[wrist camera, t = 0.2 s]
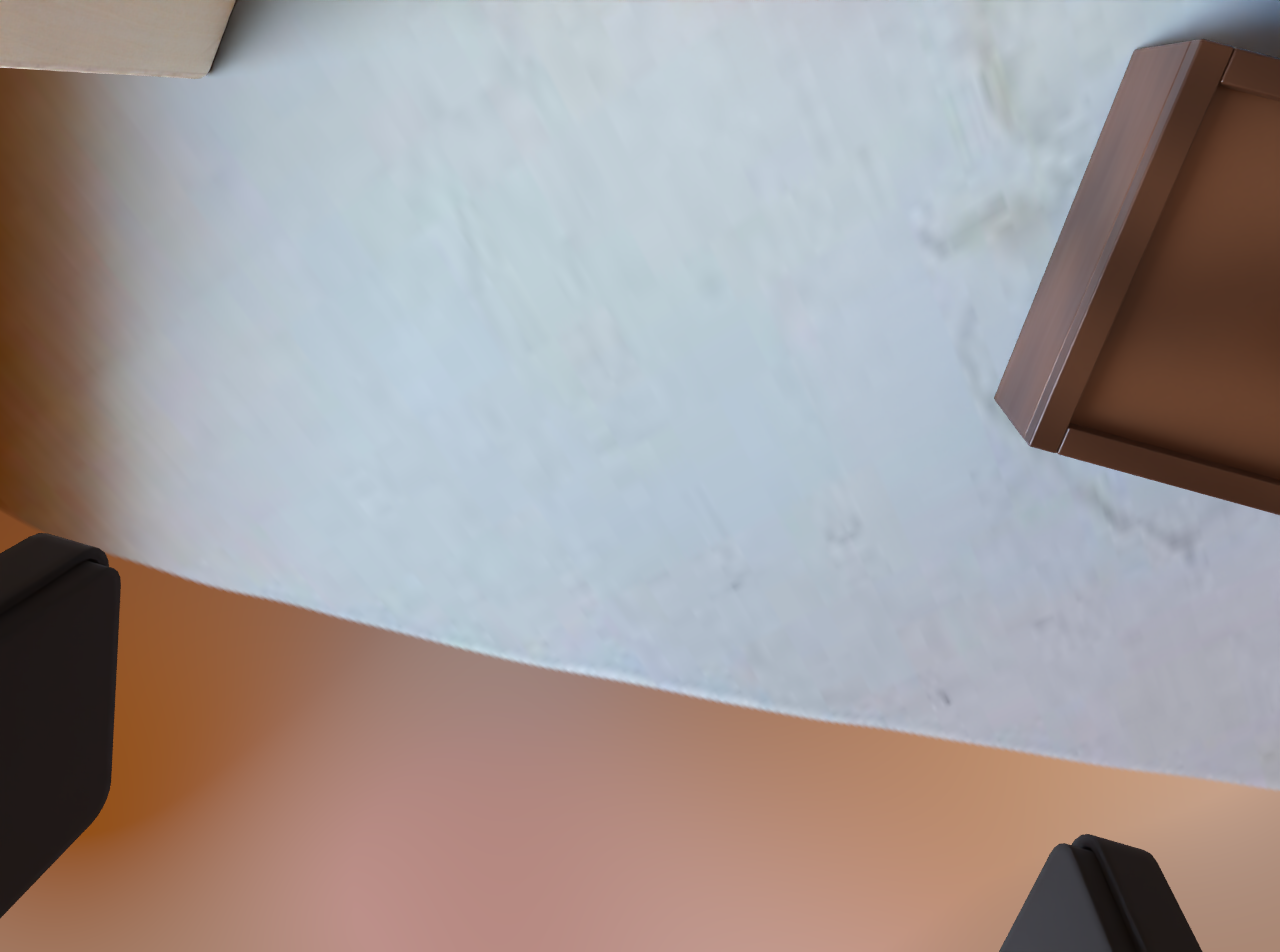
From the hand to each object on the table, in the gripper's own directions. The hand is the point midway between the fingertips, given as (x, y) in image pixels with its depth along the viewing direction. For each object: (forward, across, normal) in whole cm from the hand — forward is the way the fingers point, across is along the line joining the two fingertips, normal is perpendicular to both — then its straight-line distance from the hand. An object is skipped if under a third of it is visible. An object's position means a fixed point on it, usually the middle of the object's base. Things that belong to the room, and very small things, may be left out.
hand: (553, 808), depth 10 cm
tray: (+31, -18, -5) cm, 36 cm away
